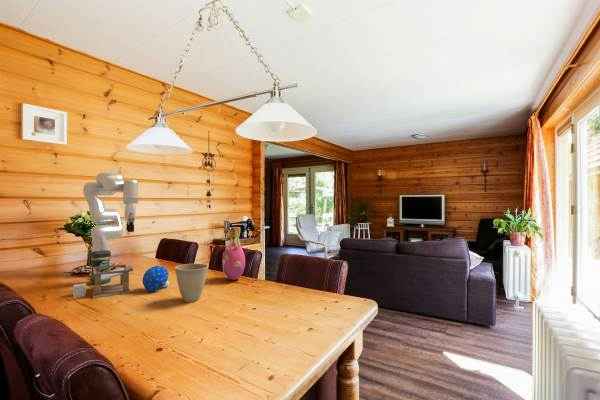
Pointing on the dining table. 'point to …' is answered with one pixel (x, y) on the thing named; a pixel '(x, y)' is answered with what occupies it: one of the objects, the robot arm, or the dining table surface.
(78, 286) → the light grey cube
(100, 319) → the dining table surface
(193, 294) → the plant pot
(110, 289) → the frame
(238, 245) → the pink dragon fruit
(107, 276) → the trapdoor
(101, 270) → the coffee jar
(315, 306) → the dining table surface
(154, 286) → the blue green-spotted dome
